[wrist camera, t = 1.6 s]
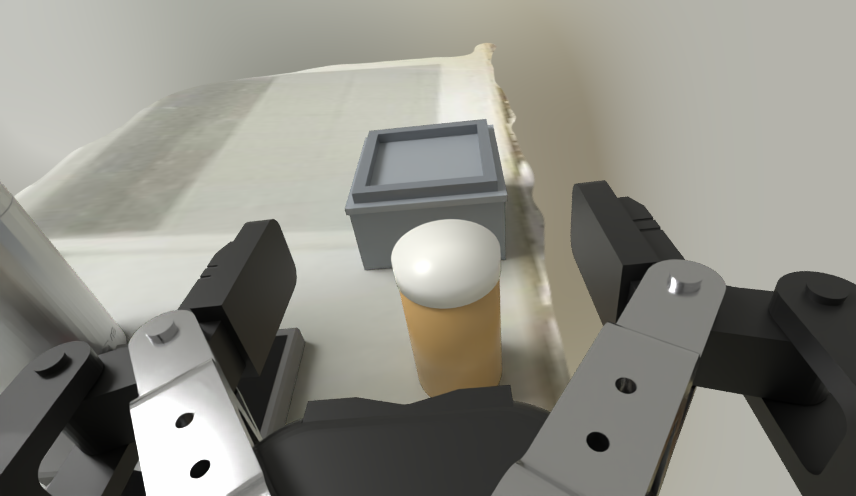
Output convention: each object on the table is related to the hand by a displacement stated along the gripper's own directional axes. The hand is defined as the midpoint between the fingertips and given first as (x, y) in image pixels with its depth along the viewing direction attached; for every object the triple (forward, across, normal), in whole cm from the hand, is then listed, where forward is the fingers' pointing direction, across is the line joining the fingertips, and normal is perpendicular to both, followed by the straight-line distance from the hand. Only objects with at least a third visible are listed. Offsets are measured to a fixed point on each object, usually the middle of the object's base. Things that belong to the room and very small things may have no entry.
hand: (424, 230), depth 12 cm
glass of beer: (+11, 0, +19) cm, 22 cm away
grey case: (+29, +2, +18) cm, 34 cm away
